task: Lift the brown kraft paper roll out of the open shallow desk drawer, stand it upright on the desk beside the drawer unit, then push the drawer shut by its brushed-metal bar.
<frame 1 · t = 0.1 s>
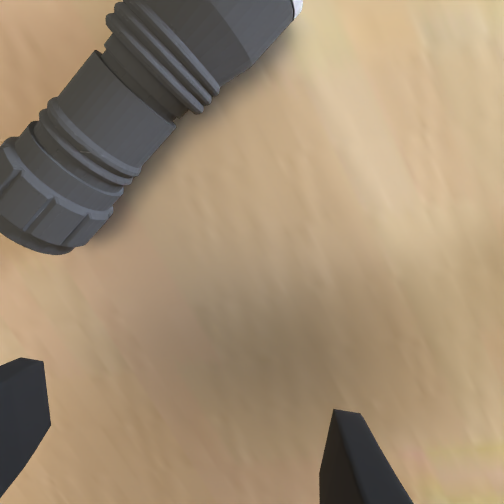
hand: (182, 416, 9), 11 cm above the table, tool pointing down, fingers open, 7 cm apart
flashlight: (157, 109, 18), on the table
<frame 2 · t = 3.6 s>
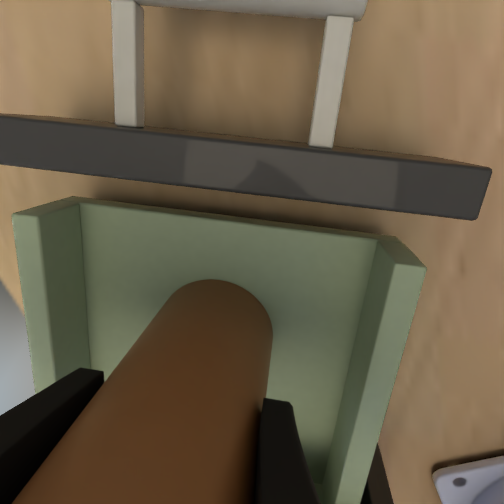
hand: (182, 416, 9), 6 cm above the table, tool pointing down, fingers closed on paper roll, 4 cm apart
drawer: (215, 290, 11), point 3 cm above the table, slide at 10.0 cm, touching paper roll
paper roll: (215, 331, 12), point 2 cm above the table, touching drawer, gripper
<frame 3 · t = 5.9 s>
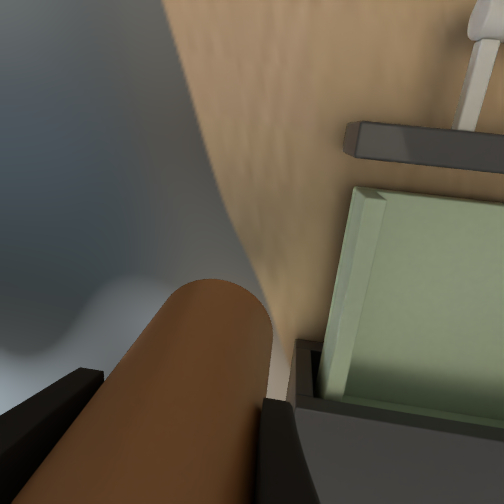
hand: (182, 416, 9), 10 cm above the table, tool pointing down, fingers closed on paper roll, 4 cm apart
drawer: (486, 259, 14), point 3 cm above the table, slide at 10.0 cm
paper roll: (215, 331, 12), point 6 cm above the table, touching gripper
cabinet: (391, 459, 21), on the table
when the fingers open (4 cm above the table, at t = 8.2 s): paper roll stays where it is, on the table.
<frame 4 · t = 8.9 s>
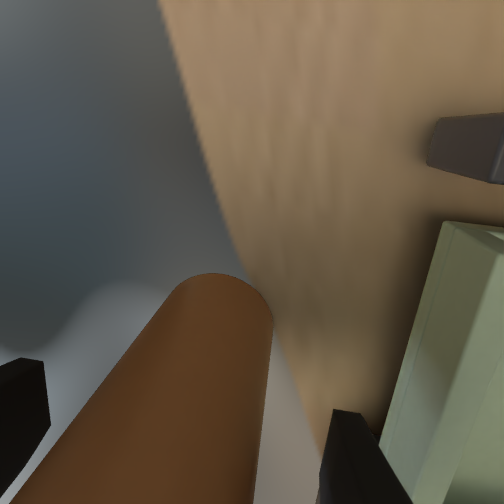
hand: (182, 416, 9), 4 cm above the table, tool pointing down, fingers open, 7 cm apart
paper roll: (217, 324, 13), on the table
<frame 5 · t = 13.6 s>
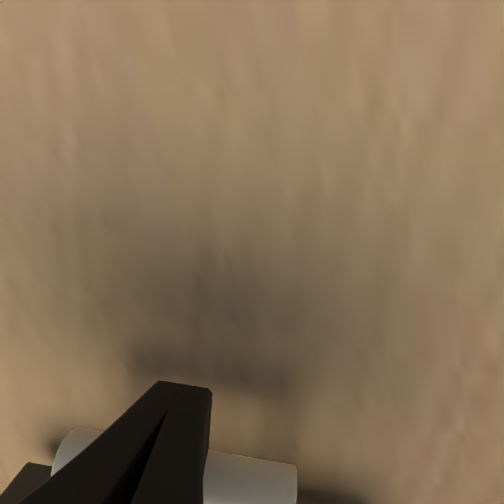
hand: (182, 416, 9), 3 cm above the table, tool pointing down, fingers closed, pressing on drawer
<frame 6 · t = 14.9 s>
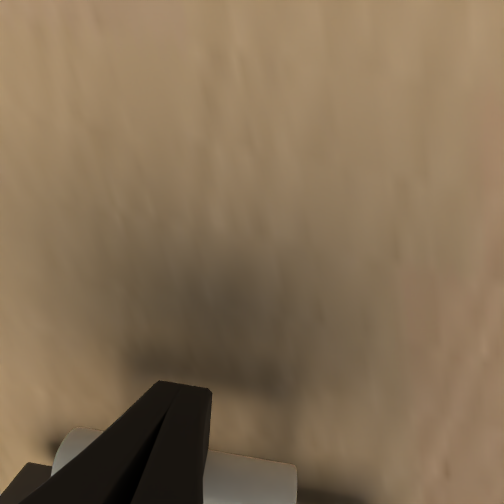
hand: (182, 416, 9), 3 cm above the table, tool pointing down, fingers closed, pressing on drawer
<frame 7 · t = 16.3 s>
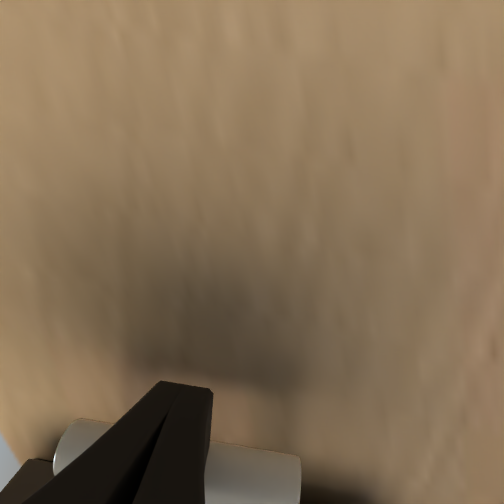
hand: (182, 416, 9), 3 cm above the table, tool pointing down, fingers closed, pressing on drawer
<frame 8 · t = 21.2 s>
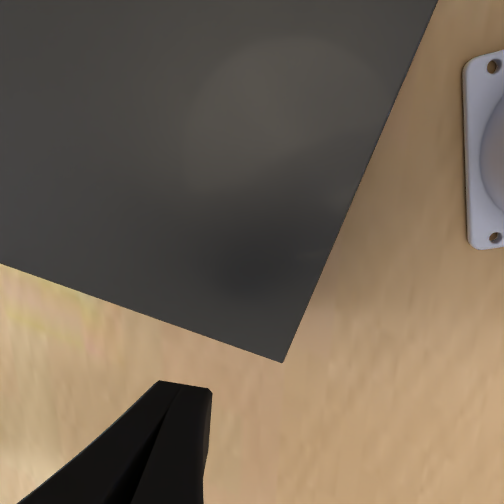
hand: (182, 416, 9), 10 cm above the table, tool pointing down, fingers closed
cabinet: (202, 124, 16), on the table
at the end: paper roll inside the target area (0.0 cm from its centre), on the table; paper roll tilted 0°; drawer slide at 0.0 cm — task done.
